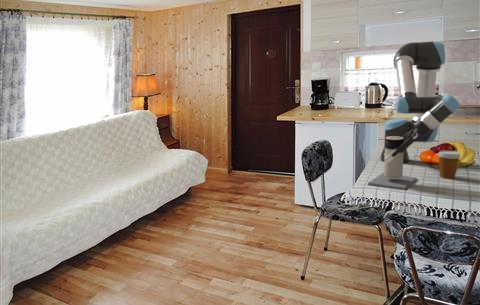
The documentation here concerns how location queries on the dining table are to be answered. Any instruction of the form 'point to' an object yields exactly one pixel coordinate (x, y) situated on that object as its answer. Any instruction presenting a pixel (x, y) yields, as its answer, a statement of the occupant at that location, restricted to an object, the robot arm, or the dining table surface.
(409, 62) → the robot arm
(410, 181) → the placemat
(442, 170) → the disposable coffee cup
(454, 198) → the dining table surface
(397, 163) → the travel mug
